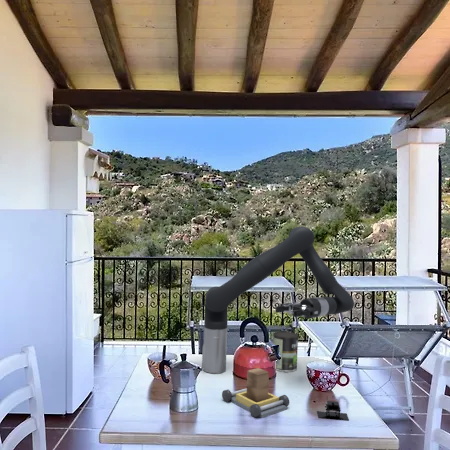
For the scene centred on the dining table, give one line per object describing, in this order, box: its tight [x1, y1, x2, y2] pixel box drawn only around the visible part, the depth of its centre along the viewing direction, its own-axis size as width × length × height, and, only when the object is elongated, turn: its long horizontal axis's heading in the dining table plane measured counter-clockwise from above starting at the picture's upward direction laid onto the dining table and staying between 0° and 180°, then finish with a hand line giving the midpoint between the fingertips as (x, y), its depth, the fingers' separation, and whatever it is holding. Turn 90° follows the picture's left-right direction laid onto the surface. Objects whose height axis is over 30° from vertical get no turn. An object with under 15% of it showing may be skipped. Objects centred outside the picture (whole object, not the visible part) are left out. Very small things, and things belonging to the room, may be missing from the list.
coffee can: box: [272, 330, 299, 373], centre depth 181 cm, size 10×10×14 cm
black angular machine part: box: [316, 400, 350, 422], centre depth 137 cm, size 12×7×5 cm, turn 83°
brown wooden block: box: [246, 367, 270, 403], centre depth 143 cm, size 5×5×10 cm
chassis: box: [221, 387, 290, 419], centre depth 144 cm, size 18×14×4 cm
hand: (284, 311), depth 158 cm, fingers open, 8 cm apart
